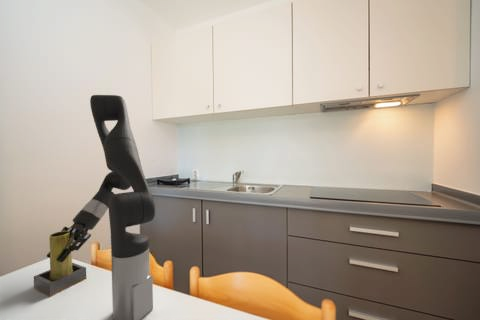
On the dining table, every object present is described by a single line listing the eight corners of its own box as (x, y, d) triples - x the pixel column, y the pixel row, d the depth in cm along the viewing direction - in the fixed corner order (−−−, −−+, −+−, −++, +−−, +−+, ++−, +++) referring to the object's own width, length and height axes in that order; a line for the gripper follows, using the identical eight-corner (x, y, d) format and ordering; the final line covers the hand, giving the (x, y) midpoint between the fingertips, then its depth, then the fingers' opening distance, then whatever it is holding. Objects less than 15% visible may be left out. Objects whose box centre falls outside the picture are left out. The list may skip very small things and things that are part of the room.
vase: (51, 282, 66) (50, 238, 66) (47, 275, 70) (45, 234, 69) (75, 273, 71) (73, 232, 71) (70, 267, 75) (68, 229, 74)
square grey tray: (86, 278, 73) (86, 267, 73) (50, 296, 63) (49, 284, 63) (70, 272, 77) (69, 261, 77) (33, 288, 68) (33, 276, 68)
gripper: (72, 207, 80) (32, 251, 69) (95, 211, 74) (55, 259, 63) (87, 216, 85) (52, 259, 74) (110, 221, 79) (75, 268, 68)
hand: (54, 259), depth 69 cm, fingers closed on vase, 5 cm apart
